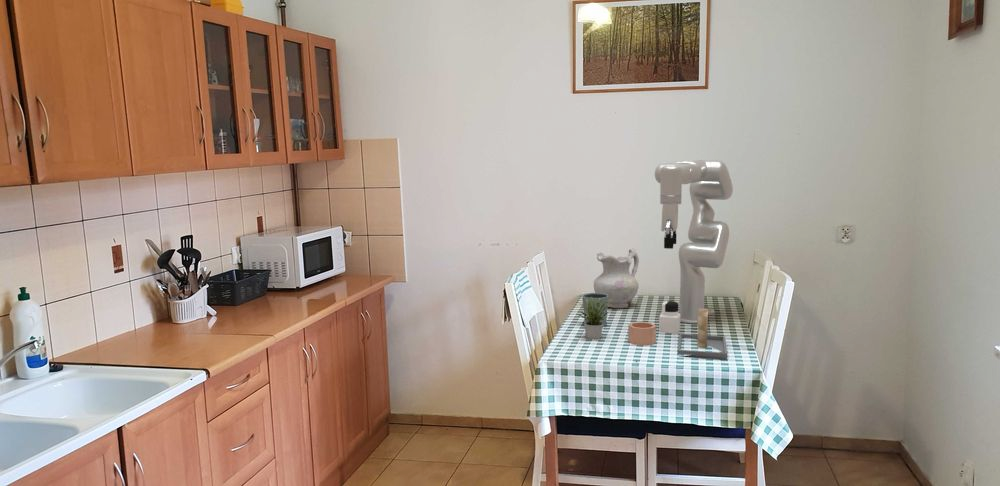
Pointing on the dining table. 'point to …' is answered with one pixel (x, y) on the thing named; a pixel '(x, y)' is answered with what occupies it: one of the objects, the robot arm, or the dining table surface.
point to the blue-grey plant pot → (596, 297)
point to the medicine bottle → (669, 318)
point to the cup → (642, 333)
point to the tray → (712, 341)
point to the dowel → (702, 327)
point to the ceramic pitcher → (617, 279)
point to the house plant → (594, 319)
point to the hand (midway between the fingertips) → (670, 246)
